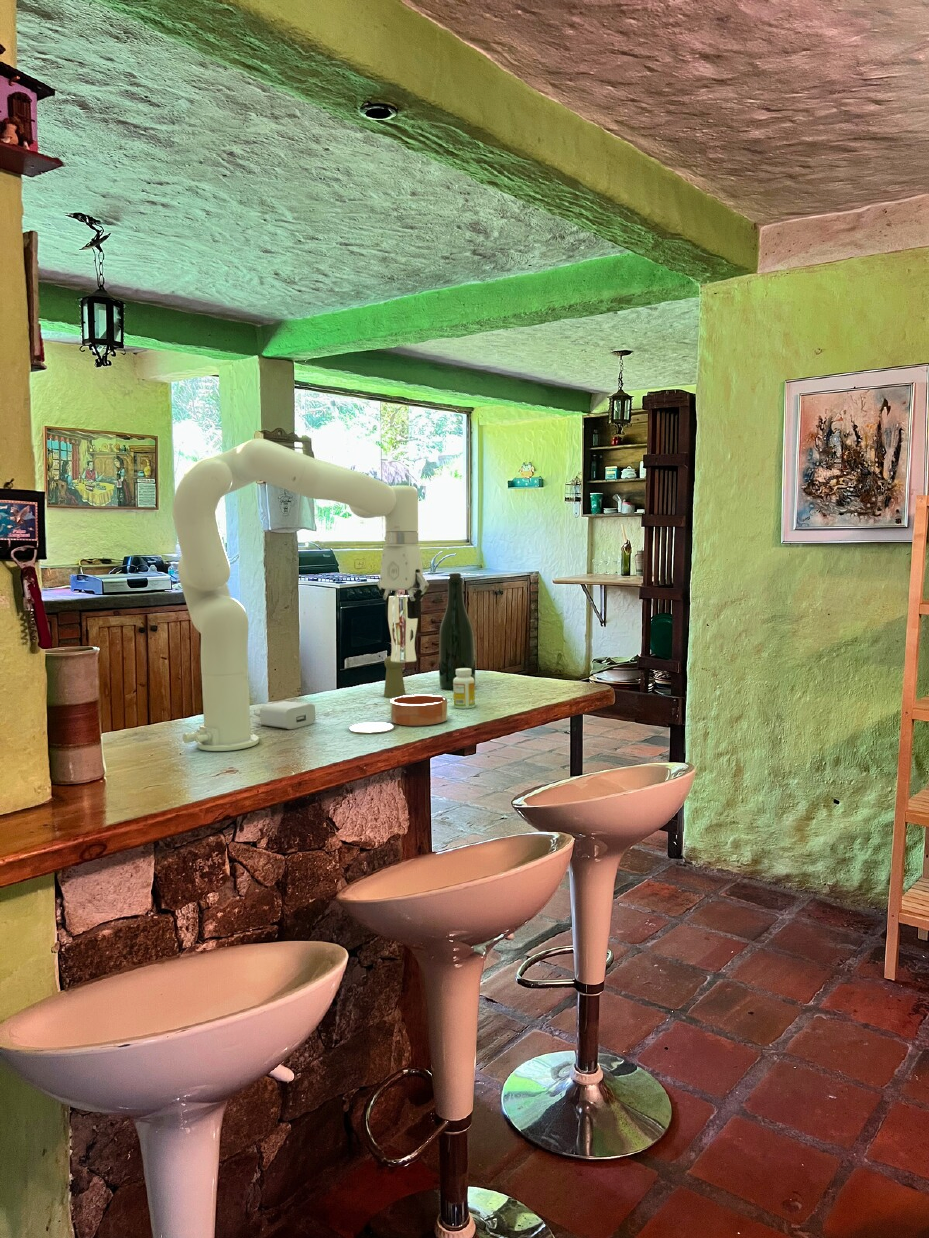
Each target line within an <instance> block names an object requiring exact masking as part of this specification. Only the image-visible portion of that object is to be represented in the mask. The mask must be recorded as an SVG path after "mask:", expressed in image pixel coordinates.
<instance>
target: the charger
mask: <svg viewBox="0 0 929 1238" xmlns="http://www.w3.org/2000/svg"><path fill="white" fill-rule="evenodd" d="M253 712H254V713H253V715H254V716H256V717H258V718H259V720H260V721H259V724H260V725H261V726H266V727H271V728H272V727H273V728H279V729H285V730H286V729H287V730H294V729H297V728H303V727H305V726H309V725H312V724H314V723H315V722H316V705H315V704H313V703H306V702H296V701H288V700H282V701H278V702H273V703H268V704H264V705H262V706H261V707H258V708H257V709H253Z"/></svg>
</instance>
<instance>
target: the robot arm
mask: <svg viewBox="0 0 929 1238" xmlns="http://www.w3.org/2000/svg"><path fill="white" fill-rule="evenodd" d="M257 481H262V482H265V483H267V484H270V485H271V486H275V487H278V488H282V489H284V490H286V491H288V492H291V493H294V494H296V495H299V496H302V497H305V498H309V499H313V500H324V501H332V502H337V503H341V504H344V505H347V506H348V507H349V509H350V510H351V512H352V513H353V514H354V515H356V516H357V517H358V518H364V519H372V518H381V517H384V529H385V530H384V532H385V533H384V535H385V536H384V541H385V546H383V548H382V552H381V557H380V559H381V560H380V573H379V574H380V575H379V579H378V580H377V582H376V585H377V587H378V589H379V590H380V593H381V595H382V598H383V600H384V601H385V602H384V603H385V604H384V605H385V618H388V600H389V596H397V594H398V592H399V591H407V595H409V597H410V600H411V601H409V603H408V604H409V619H416V618H418V619H420V618H421V601H423V600H424V599H423V598H424V596H425V594H426V592H427V590H428V588H429V586H430V583H429V582H428V581H427V579H426V578H425V577H424V569H423V558H422V552H421V547H420V545H419V494H418V489H417V488H416V487H415V486H412V485H391V486H390V485H389V484H388V483H386V482H384V481H382V480H380V479H377V478H375V477H372V476H370V475H367V474H365V473H363V472H359V471H357V470H354V469H350V468H347V467H343V466H340V465H337V464H333V463H331V462H327V461H323V460H321V459H317V458H315V457H312V456H309V455H308V454H304V453H302V452H300V451H296V450H295V449H291V448H289V447H287V446H285V445H282V444H279V443H276V442H274V441H272V440H269V439H267V438H262V437H261V438H259V437H257V438H251V439H249V440H247V441H245V442H244V443H241V444H240V445H237V446H235V447H233V448H231V449H229V450H226V451H224V452H221V453H218V454H216V455H214V456H210V457H205V458H202V459H200V460H198V461H195V462H194V463H192V464H191V465H190V466H188V468H187V469H186V470H185V472H184V474H183V477H182V478H181V480H180V482H179V483H178V486H177V489H176V491H175V493H174V497H173V503H172V519H173V524H174V525H173V526H174V529H175V533H176V537H177V541H178V545H179V549H180V552H181V553H180V554H181V556H180V557H179V560H178V565H177V573H178V579H179V583H180V586H181V591H182V594H183V596H184V600H185V603H186V607H187V611H188V613H189V616H190V620H191V622H192V624H193V626H194V628H195V629H196V631H197V632H198V633H200V673H201V690H202V709H203V710H202V711H203V725H199V726H198V727H199V729H197V730H196V732H187V733H184V734H183V735H182V741H183V743H184V744H190V743H194V742H196V746H197V748H198V749H200V750H201V751H207V752H227V751H228V752H229V751H237V750H243V749H248V748H251V747H254V746H256V745H258V743H260V742H259V741H260V737H259V736H258V735H257V734H254V733H252V727H251V726H252V725H251V707H250V703H251V702H250V683H249V680H250V679H249V663H248V661H249V660H248V640H249V617H248V614H247V611H246V609H245V607H244V606H243V604H241V602H239V600H237V599H236V598H234V597H231V592H230V589H229V585H228V582H229V580H230V577H231V570H232V569H231V564H230V560H229V558H228V554H227V552H226V549H225V546H224V541H223V538H222V534H221V531H220V526H219V522H218V516H217V515H218V514H217V512H218V511H217V509H218V505H219V502H220V500H221V499H222V498H223V497H224V496H225V495H228V494H230V493H233V492H235V491H237V490H239V489H242V488H244V487H246V486H249V485H251V484H254V483H256V482H257Z"/></svg>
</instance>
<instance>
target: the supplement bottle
mask: <svg viewBox="0 0 929 1238" xmlns="http://www.w3.org/2000/svg"><path fill="white" fill-rule="evenodd" d="M471 673H472V672H471V669H470V668H459V669H456V675H457V677H456V678H454V680H453V689H454V690H453V707H454V708H456V709H463V710H467V709H472V708H475V706H476V692H475V691H476V690H475V687H476V683H475V684H474V678H473V677H471Z"/></svg>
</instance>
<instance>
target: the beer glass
mask: <svg viewBox="0 0 929 1238" xmlns="http://www.w3.org/2000/svg"><path fill="white" fill-rule="evenodd" d="M409 601H411V600H410V597H409V594H407V595H403V594H402V595H396V596H389V600H388V617H387V622H388V629H389V634H390V640H391V653H390V656H391V658H390V661H391V662H403V663H414V662H417V659H418V657H417V654H416V636H417V630H418V623H419V618H416V619H409V604H408V603H409Z"/></svg>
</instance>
